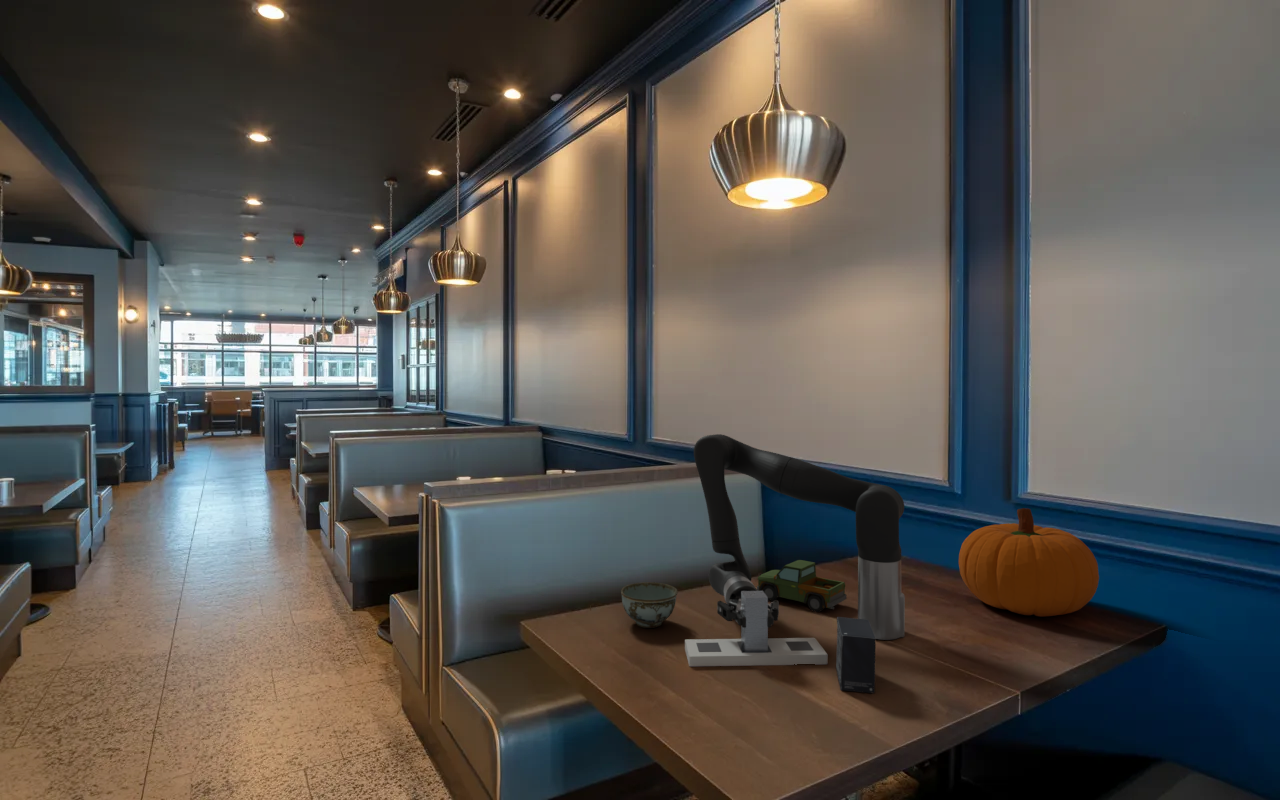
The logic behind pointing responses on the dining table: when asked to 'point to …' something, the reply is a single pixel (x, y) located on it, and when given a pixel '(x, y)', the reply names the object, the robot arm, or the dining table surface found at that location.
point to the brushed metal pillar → (754, 622)
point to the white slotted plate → (731, 655)
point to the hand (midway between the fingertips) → (757, 622)
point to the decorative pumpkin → (1028, 568)
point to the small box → (855, 655)
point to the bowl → (649, 602)
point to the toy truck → (802, 586)
